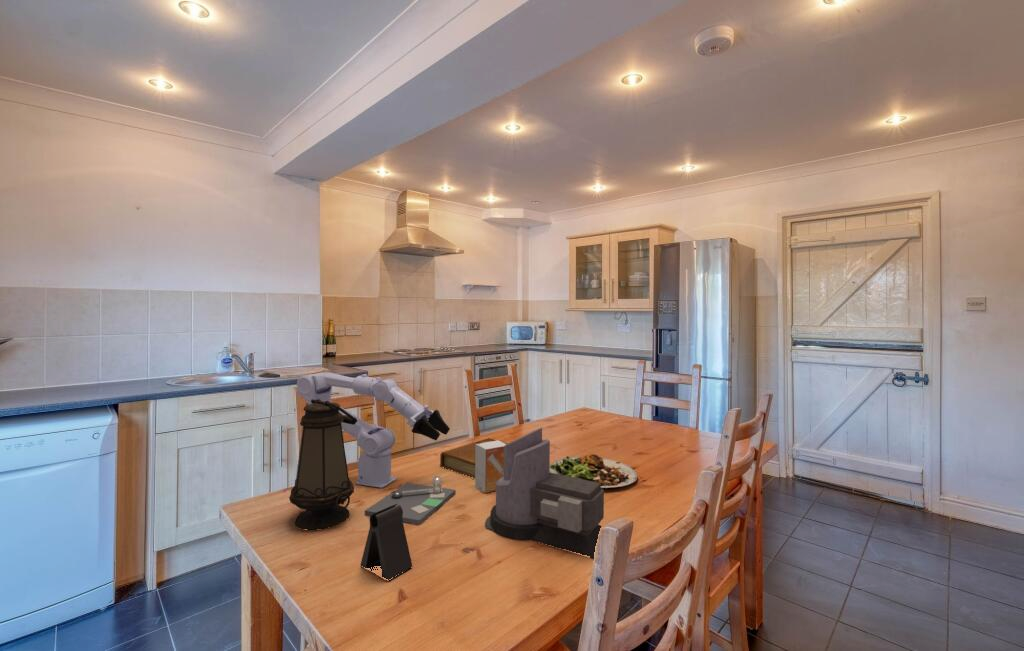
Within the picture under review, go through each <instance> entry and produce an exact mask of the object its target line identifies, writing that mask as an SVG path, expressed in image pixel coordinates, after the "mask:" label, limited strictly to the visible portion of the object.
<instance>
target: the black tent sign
mask: <svg viewBox="0 0 1024 651" xmlns="http://www.w3.org/2000/svg"><path fill="white" fill-rule="evenodd" d="M396 505H397V504H395V505H392V506H390V507H388V508H385V509H383V510H380V511H378V512H376V513H373V514H371V515H370V516H369V529H368V534H367V537H366V541H365V545H364V549H363V554H362V558H361V562H360V567H361V566H363V567H365V568H370V569H371V567H372V569H373V567H374V566H381V567H380V568H381V569H382V577H384V578H386V579H388V580H389V579H391V578H392V577H395V576H396V575H398V574H400V573H402V572H404V571H406V570H407V569H409V568H411V567H412V568H413V563H412V558H411V554H410V549H409V544H408V539H407V535H406V530H405V525H404V522H403V518H402V517H403V510H402V508H401V506H400V505H398V506H396ZM395 506H396V507H395ZM374 568H375V567H374ZM376 568H377V567H376ZM412 568H411V569H412ZM372 569H371V571H372ZM373 570H374V569H373ZM375 570H376V569H375ZM377 570H378V569H377ZM409 570H410V569H409ZM407 571H408V570H407ZM407 571H406V572H407ZM404 573H405V572H404ZM402 574H403V573H402ZM395 578H396V577H395Z"/></svg>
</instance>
